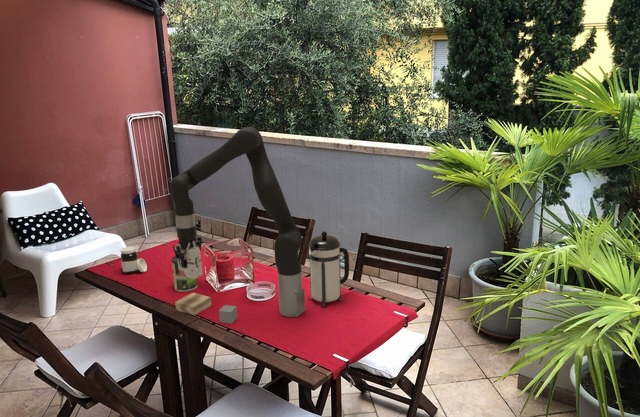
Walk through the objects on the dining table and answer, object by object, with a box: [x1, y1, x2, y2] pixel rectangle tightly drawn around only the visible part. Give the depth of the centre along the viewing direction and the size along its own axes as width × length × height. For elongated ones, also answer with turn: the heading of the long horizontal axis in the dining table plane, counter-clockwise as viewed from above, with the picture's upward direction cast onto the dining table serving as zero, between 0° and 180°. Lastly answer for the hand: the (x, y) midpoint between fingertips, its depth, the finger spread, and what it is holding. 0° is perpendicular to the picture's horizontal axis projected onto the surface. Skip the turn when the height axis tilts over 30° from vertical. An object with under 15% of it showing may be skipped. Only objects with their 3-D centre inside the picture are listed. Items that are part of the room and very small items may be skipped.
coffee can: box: [170, 256, 199, 293], centre depth 228 cm, size 10×10×14 cm
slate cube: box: [218, 304, 238, 325], centre depth 197 cm, size 5×5×5 cm
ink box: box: [177, 247, 203, 279], centre depth 204 cm, size 9×5×12 cm, turn 62°
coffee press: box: [307, 231, 350, 308], centre depth 210 cm, size 17×16×30 cm
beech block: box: [174, 292, 212, 316], centre depth 209 cm, size 10×10×4 cm
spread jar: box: [120, 246, 148, 275], centre depth 249 cm, size 12×11×12 cm
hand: (189, 265), depth 205 cm, fingers closed on ink box, 5 cm apart
